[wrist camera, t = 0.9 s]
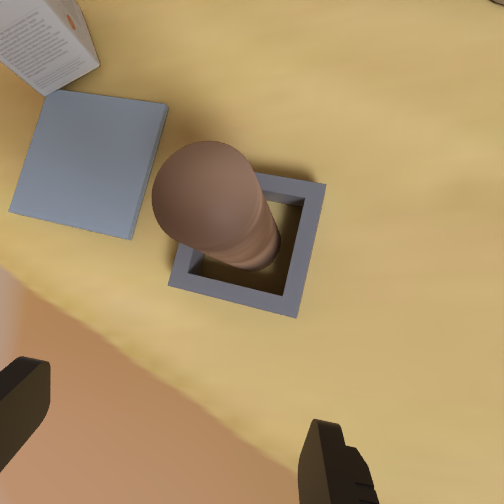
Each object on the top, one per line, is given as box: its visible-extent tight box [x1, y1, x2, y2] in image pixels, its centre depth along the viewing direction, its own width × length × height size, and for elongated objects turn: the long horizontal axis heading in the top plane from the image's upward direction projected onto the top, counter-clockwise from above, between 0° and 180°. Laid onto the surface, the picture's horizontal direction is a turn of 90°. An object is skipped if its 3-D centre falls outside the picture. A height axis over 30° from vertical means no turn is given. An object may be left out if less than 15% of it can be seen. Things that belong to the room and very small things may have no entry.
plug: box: [152, 141, 281, 271], centre depth 19 cm, size 5×5×12 cm
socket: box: [168, 172, 326, 318], centre depth 24 cm, size 9×9×2 cm
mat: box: [8, 90, 168, 240], centre depth 28 cm, size 12×12×1 cm
